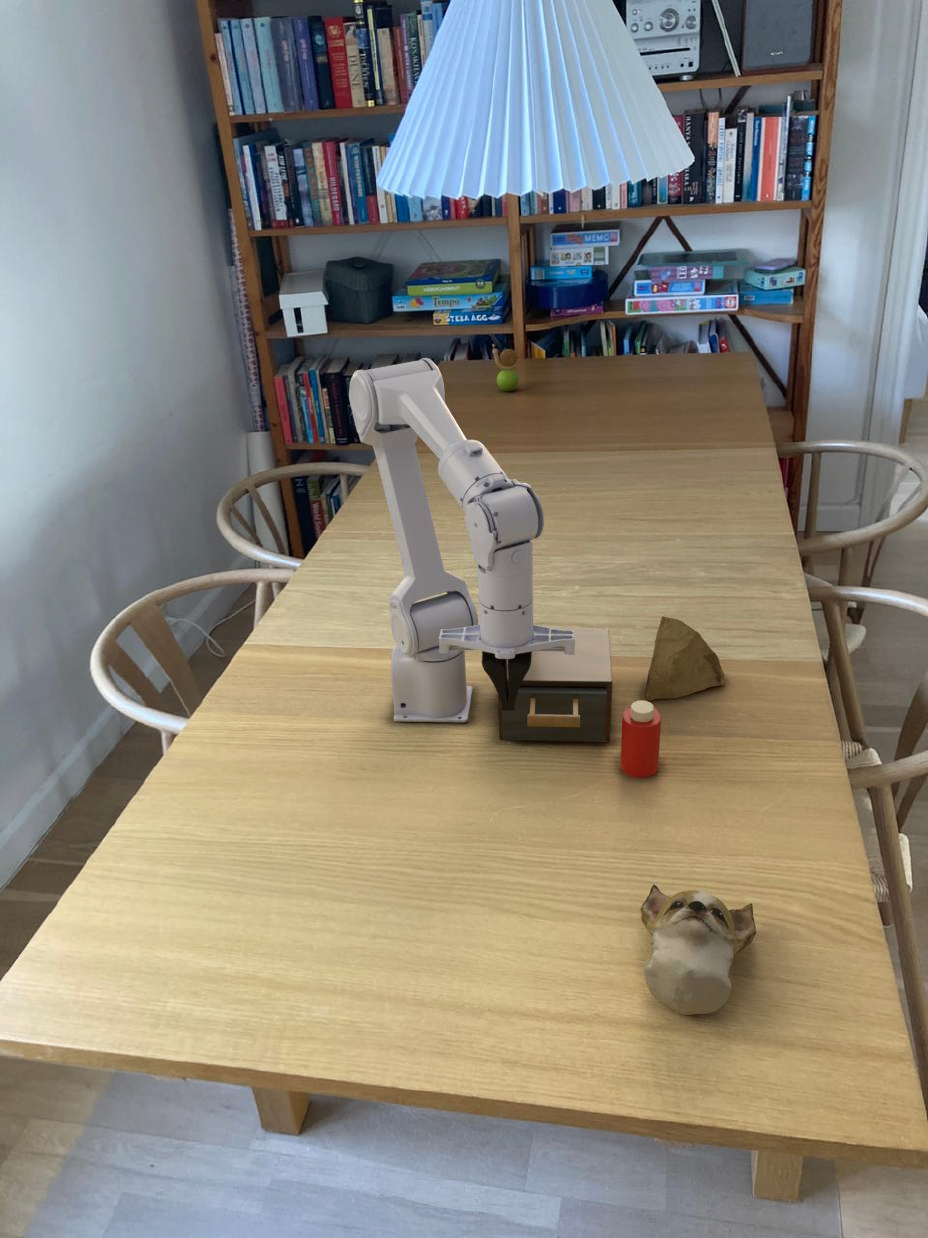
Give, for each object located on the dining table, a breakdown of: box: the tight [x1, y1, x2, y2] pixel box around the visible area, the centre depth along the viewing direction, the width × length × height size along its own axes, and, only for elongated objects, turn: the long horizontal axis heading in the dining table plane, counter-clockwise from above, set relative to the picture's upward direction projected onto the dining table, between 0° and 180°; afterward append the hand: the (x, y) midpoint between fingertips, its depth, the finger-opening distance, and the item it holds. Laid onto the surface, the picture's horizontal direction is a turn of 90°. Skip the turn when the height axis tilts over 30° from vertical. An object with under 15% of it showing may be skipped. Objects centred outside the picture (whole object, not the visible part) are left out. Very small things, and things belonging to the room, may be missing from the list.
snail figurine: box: [491, 343, 520, 392], centre depth 251 cm, size 5×6×12 cm
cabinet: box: [497, 627, 613, 743], centre depth 128 cm, size 13×14×9 cm
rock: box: [644, 615, 726, 702], centre depth 132 cm, size 11×9×10 cm
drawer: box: [502, 686, 607, 743], centre depth 124 cm, size 16×12×7 cm
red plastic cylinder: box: [619, 700, 662, 779], centre depth 117 cm, size 4×4×8 cm
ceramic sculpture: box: [639, 883, 757, 1016], centre depth 91 cm, size 11×9×15 cm
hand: (508, 705), depth 113 cm, fingers closed
